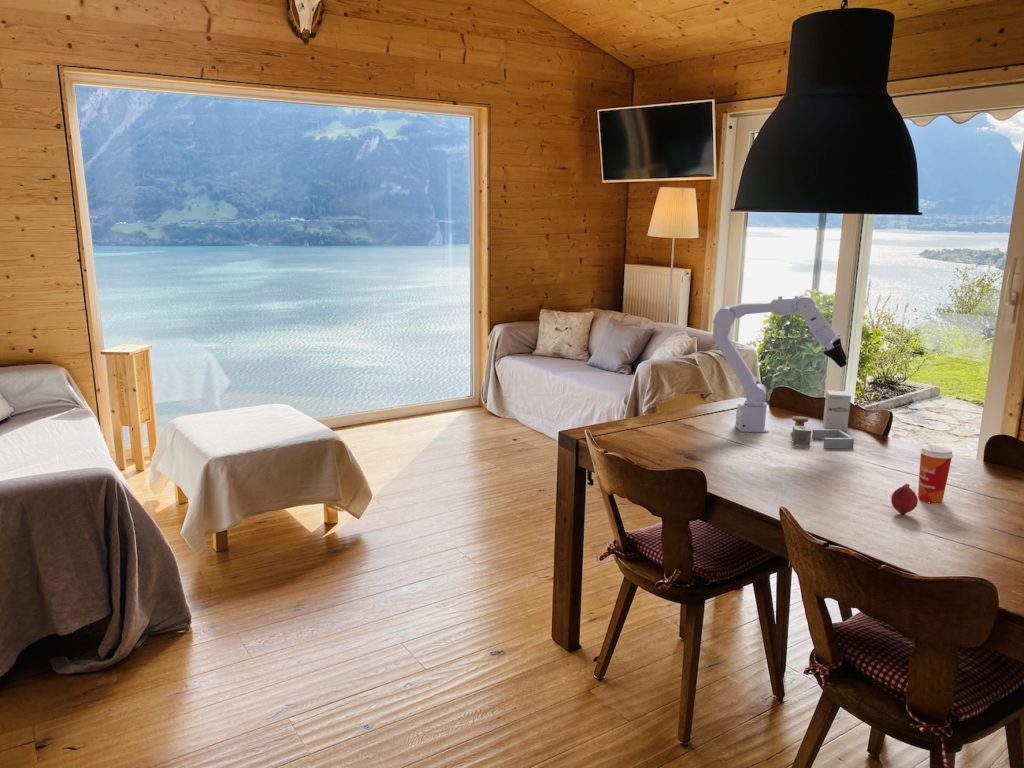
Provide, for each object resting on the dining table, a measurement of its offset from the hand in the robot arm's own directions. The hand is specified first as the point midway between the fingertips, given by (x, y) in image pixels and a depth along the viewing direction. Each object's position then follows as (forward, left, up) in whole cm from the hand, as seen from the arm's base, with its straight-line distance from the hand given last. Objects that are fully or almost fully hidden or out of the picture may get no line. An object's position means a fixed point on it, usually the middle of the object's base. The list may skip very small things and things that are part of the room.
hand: (844, 363), depth 250 cm
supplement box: (+4, +12, -25) cm, 28 cm away
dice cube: (-14, -6, -26) cm, 30 cm away
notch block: (-4, -6, -25) cm, 26 cm away
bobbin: (-12, +2, -25) cm, 28 cm away
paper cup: (+2, -56, -25) cm, 62 cm away
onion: (-10, -66, -25) cm, 72 cm away
